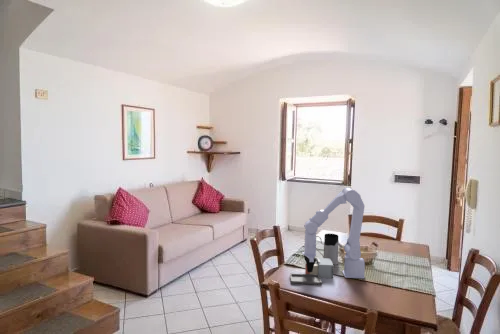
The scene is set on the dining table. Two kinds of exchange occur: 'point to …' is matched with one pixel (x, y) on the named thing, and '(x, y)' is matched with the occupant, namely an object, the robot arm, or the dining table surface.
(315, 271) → the pink-topped cream pillar
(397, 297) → the dining table surface
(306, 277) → the tray
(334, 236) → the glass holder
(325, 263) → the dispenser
